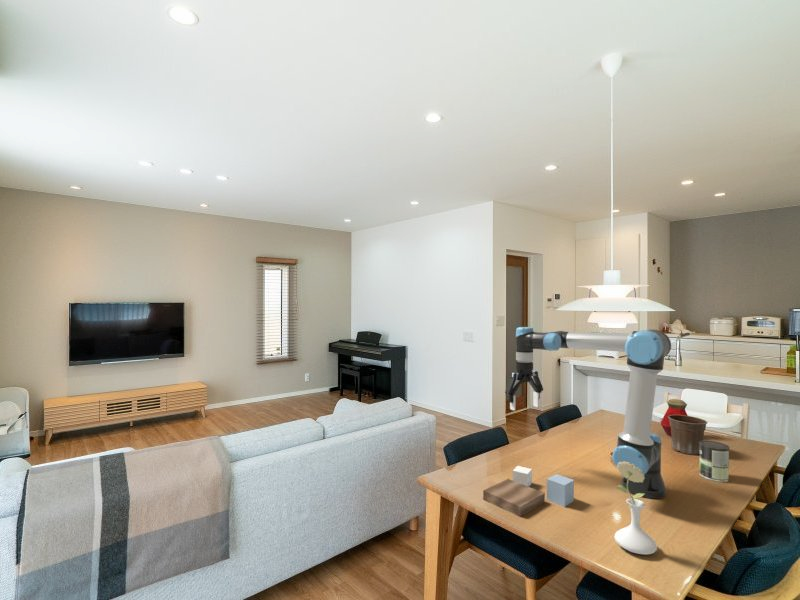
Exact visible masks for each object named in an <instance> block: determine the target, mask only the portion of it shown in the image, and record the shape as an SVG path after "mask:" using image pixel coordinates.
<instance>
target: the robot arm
mask: <svg viewBox="0 0 800 600" xmlns="http://www.w3.org/2000/svg"><path fill="white" fill-rule="evenodd" d="M559 349H573V350H574V349H575V350H576V349H579V350H594V351H607V352H624V353H625V354H626V356H627V358H626V366H628V368H629V369H630V371H629V372H630V373H629V380H628V388H627V399H626V406H625V414H624V423H623V430H622V431H621V432H619V433H618V436H617V442H616V447H615V448H614V449H613V452H612V457H611V458H612V462H613V464H614V466H615V468H616V467H618V466H617V465H618V463H619V462H623V461H625V462H629V463H630V464H634V465H635V467H636V468H639V469H640V470H641V471H642V474H643V475H644V477H645V479H644V480H643V482H639V483H638V482H633V481H630V480H629V481H628V490H629V492H630V494H631V495H635V494H638V493H642V494H644V493H645V494H644V495H643V496H642V498H647V499H662V498H665V497H666V495H667V488H666V485H665V482H664V479H663V476H662V469H661V468H662V438H661V436H660V435H659V434H657V433H654V432H651V429H652V422H653V421H652V419H653V412H654V403H655V394H656V387H657V379H658V374H659V373H661V372H663V370H664V362H665V358H666V357H667V356H668V355H669V353H670V352H671V349H672V343H671V339H670V338H669V336H668V335H667V334H666V333H664V331H661V330H658V329H646V330H633V331H632V332H630V333H629V332H626V333H625V332H623V333H622V332H597V331H596V332H592V331H591V332H590V331H589V332H588V331H565V330H557V331H550V332H548V331H547V332H537V331H534V328H533V327H529V326H519V327H516V331H515V360H516V361H515V369H516V372H511V373H510V379H509V380H508V383H507V386H506V388H505V392H504V393H505V394H506V395H508V402H509V409H510V410H511V411H514V412H515V411H516V395H515V394H516V392H517V391H518V389H519V387H520V386H521V384H523V383H526V382H527V383H528V384H529V385H530V386H531V388H532V389H533V392H532V393H533V394H532V395H533V398H532V399H533V400H532V401H533V403H532V404H533V405H532V406H533V407H535V408H539V407H540V397H541V395H540V394H542V392H543V391H544V387H543V385H542V382H541V379H540V377H539V371H537V370H534V362H533V361H534V350H543V351H549V352H551V351H559ZM622 476H623V475H622ZM627 480H628V478H625V477H624V476H623V477H622V479H621V485H622V486H623V487H625V488H626V489H627ZM629 492H628V493H629Z"/></svg>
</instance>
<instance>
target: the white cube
mask: <svg viewBox="0 0 800 600" xmlns="http://www.w3.org/2000/svg"><path fill="white" fill-rule="evenodd" d="M512 480H513V481H515V482H518V483H520V484H523V485H525V486H528V487H531V485H532V483H533V469H532V468H528V467H524V466H521V465H516V467H515V468H514V469H513V470H512Z"/></svg>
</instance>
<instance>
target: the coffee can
mask: <svg viewBox="0 0 800 600" xmlns="http://www.w3.org/2000/svg"><path fill="white" fill-rule="evenodd" d="M699 444H700V454H699V467H698V468H699V470H698V471H699V472H698V473H699V474H698V475H699V476H700V477H702V478H704V479H706V480H707V481H708V480H709V481H712V482H719V483H726V482H729V480H730V475H729V472H730V469H729V468H730V466H729V465H730V464H729V463H730V461H729V460H730V446H729V445H728V444H725V443H723V442H720V441H716V440H708V439H706V440H705V439H703V441H700V442H699Z"/></svg>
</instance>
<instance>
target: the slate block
mask: <svg viewBox="0 0 800 600" xmlns="http://www.w3.org/2000/svg"><path fill="white" fill-rule="evenodd" d="M574 495H575V480H574V479H572V478H569V477H567V476H564V475H560V474H558V473H556V474H554V475H552V476H550V477H548V478H546V501H549V502H551V503H554V504H556V505H558V506H560V507H564V508H566V507H567V506H568V505H570V504H572V503H573V502H575V496H574Z"/></svg>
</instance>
